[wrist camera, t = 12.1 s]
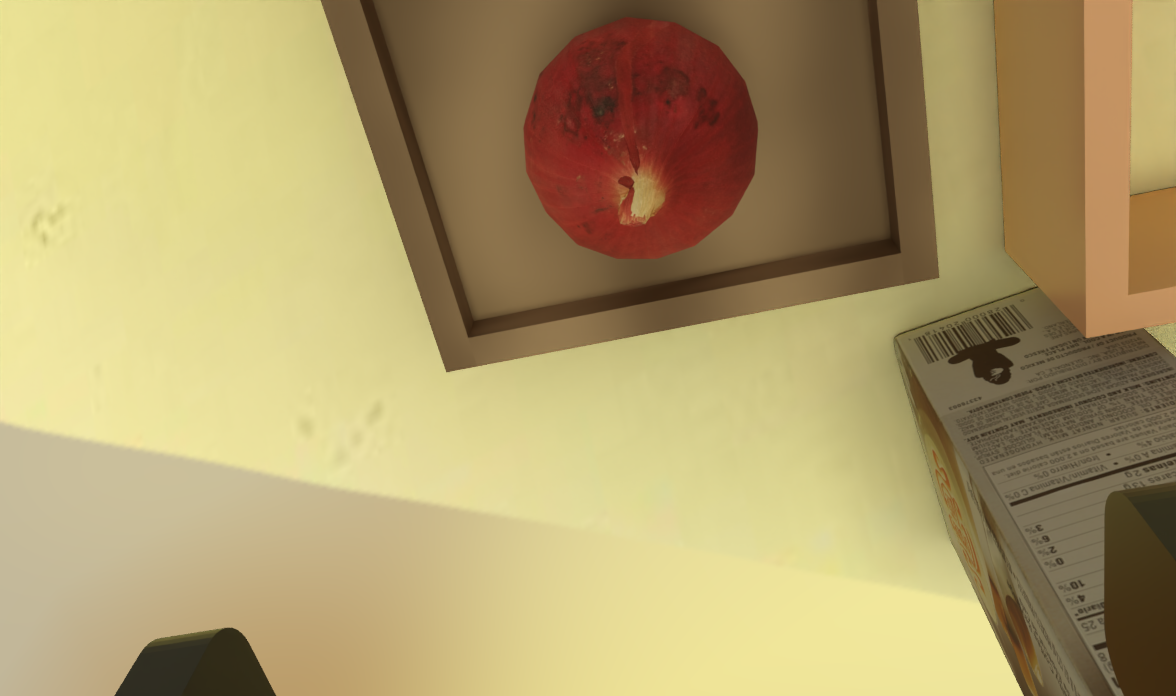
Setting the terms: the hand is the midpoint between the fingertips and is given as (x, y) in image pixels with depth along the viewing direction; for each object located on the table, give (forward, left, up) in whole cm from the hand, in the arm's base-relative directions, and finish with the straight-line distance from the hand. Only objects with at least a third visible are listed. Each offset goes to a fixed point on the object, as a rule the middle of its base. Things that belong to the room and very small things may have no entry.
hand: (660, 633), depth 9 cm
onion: (0, 0, -21) cm, 21 cm away
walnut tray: (0, 0, -22) cm, 22 cm away
